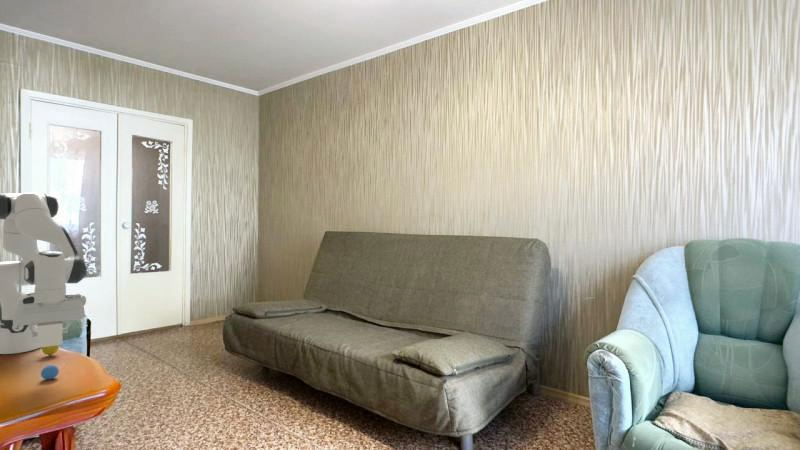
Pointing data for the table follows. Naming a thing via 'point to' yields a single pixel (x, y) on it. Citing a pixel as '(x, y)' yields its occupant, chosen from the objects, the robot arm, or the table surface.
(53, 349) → the lemon
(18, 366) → the table surface
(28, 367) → the table surface
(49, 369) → the ball
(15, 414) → the table surface
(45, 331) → the matte ivory cube
